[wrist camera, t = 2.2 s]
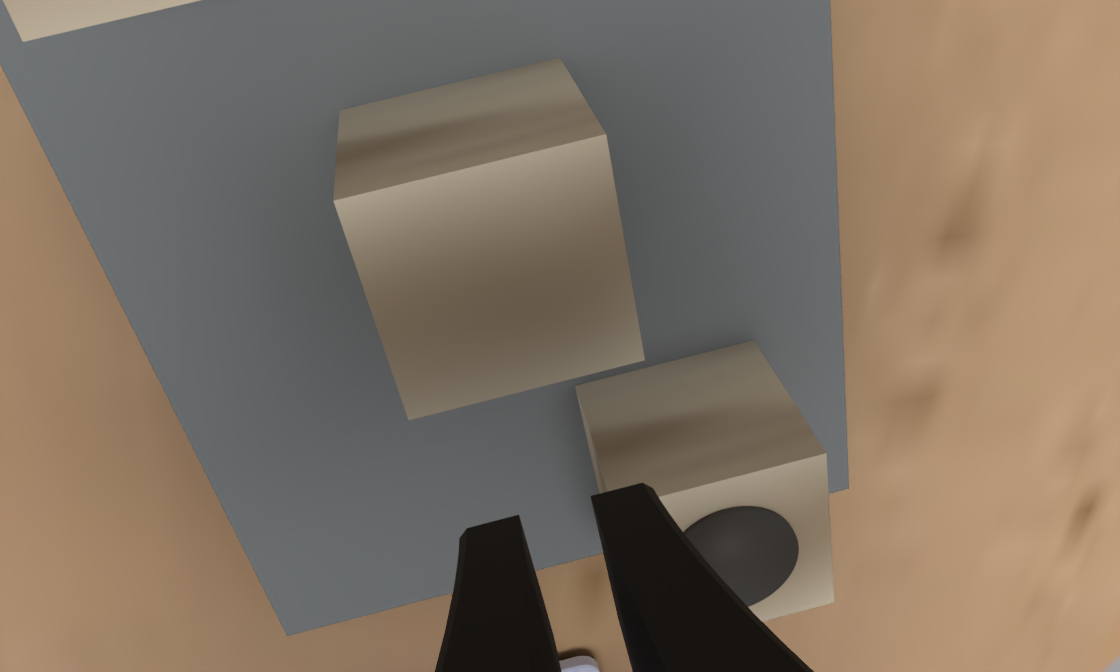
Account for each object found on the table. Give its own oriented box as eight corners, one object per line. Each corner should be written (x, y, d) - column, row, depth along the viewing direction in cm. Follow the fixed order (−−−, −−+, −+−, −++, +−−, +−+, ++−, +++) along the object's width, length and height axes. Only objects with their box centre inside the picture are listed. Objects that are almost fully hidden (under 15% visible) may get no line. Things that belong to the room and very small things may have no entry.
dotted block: (767, 478, 24) (837, 607, 20) (604, 520, 23) (647, 658, 20) (754, 340, 21) (829, 458, 18) (574, 385, 21) (616, 513, 18)
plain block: (597, 253, 20) (644, 360, 16) (400, 302, 20) (408, 420, 16) (560, 57, 18) (606, 133, 14) (339, 110, 17) (333, 200, 14)
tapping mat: (835, 468, 25) (848, 488, 24) (288, 611, 24) (286, 635, 24) (785, -584, 14) (806, -600, 14) (-194, -374, 14) (-223, -380, 13)
